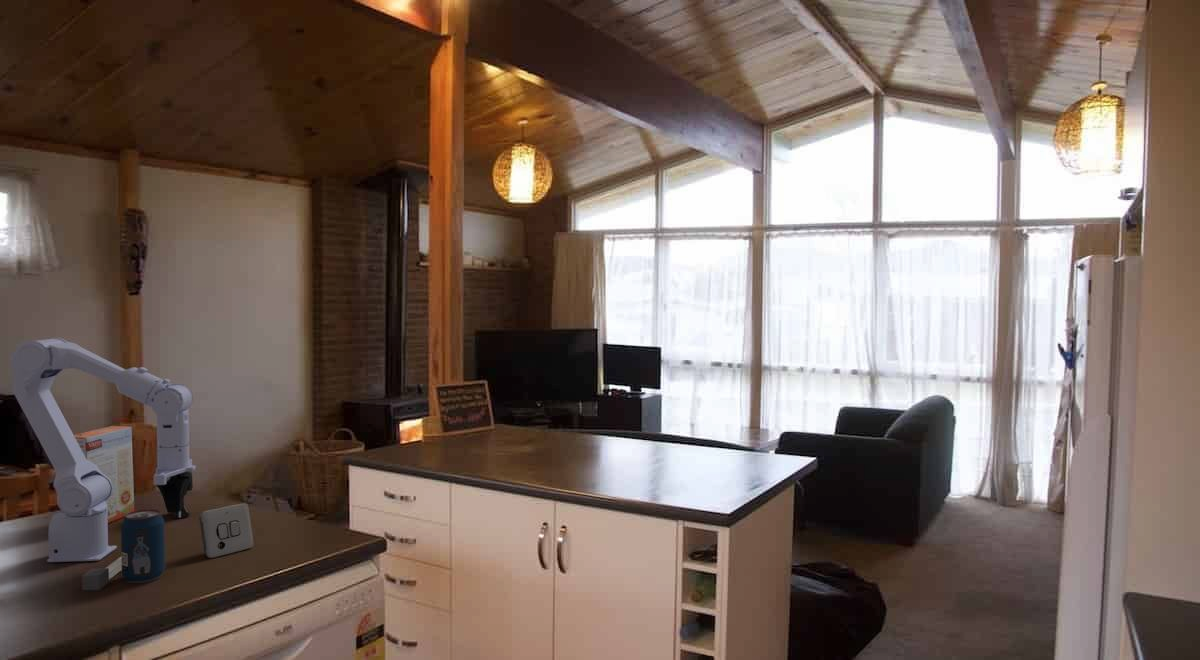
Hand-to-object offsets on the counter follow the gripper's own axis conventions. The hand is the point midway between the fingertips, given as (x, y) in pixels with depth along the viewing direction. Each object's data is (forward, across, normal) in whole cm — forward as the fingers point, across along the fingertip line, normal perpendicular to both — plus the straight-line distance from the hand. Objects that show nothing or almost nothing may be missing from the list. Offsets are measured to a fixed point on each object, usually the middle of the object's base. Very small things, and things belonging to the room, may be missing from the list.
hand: (174, 511), depth 160 cm
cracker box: (+9, +24, +25) cm, 35 cm away
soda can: (+9, -14, 0) cm, 16 cm away
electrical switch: (+9, 0, -10) cm, 13 cm away
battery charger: (+9, +28, +9) cm, 31 cm away
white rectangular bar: (+8, -8, +7) cm, 13 cm away
